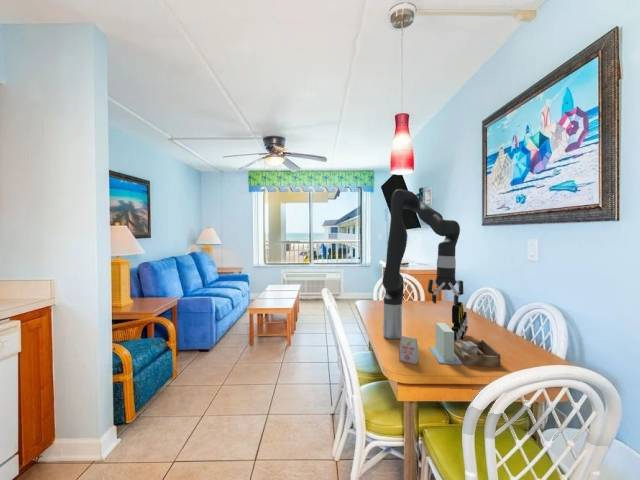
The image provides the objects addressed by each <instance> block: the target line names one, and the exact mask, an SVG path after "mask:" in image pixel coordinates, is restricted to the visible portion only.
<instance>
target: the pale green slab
mask: <svg viewBox="0 0 640 480" xmlns="http://www.w3.org/2000/svg"><path fill="white" fill-rule="evenodd" d="M435 348H436V350H437V352H438V353H439V355H440V356H441V357H442V359H443V360H444V361H454V354H455V353H454V331H453V330H452V327H451V328H450V326H449V325H448V324H447V323H446V322H436V323H435Z"/></svg>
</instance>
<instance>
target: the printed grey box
mask: <svg viewBox="0 0 640 480" xmlns="http://www.w3.org/2000/svg"><path fill="white" fill-rule="evenodd" d="M399 339H400V340H399V346H398V361H399V362H403V363H406V364H411V365H416V364H417V363H418V362H419V345H418V344H419V343H418V339H417V338H414V337H410V336H409V337H408V336H404V335H402V336H401V338H399Z"/></svg>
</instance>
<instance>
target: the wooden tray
mask: <svg viewBox="0 0 640 480" xmlns="http://www.w3.org/2000/svg"><path fill="white" fill-rule="evenodd" d="M461 341H462V340H459V341H454V343H461ZM465 341H471V340H469V339H466V340H465ZM471 342H472V343H474V344H475V345H477V355H464V356H463V355H462V354H461V353H460V352H459V350H458V349H457V348H456V347H455V346H454V354H455V355H456V357H457V358H458V359H459V360H460V361H461V363H462V365H464V366H469V367H470V366H473V367H488V368H491V367H493V368H501V354H500V353H499V352H498V351H497V350H496V349H495V348H493V347H492V346H491V345H490V344H489V343H487V342H486V341H485V340H483V339H481V340H480V341H471Z"/></svg>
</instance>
